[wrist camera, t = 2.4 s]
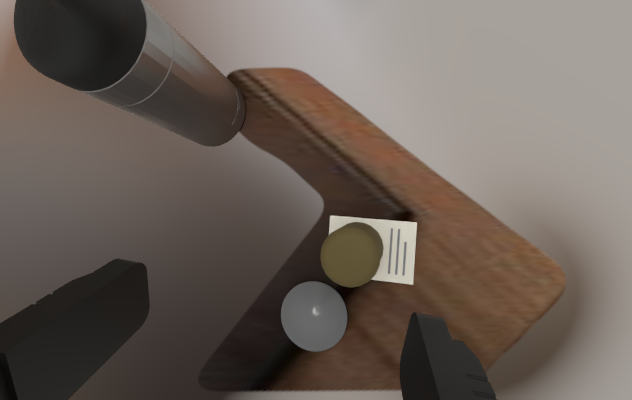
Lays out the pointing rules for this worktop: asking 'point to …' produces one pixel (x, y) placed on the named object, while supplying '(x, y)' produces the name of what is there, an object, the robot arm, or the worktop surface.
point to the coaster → (314, 316)
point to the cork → (352, 254)
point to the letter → (389, 246)
